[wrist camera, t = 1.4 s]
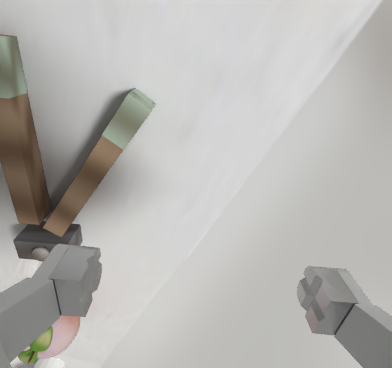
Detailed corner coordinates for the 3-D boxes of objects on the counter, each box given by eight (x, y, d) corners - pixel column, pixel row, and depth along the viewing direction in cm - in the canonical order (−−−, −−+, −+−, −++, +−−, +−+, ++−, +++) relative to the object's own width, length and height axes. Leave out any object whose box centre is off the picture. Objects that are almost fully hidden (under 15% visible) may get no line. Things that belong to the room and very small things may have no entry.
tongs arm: (72, 222, 34) (61, 237, 31) (54, 212, 33) (42, 227, 30) (155, 104, 26) (151, 111, 23) (135, 87, 25) (128, 93, 22)
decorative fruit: (80, 318, 45) (52, 384, 36) (33, 303, 43) (-8, 370, 34) (98, 288, 41) (71, 355, 32) (47, 271, 39) (5, 337, 30)
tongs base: (-17, 32, 23) (-62, 30, 19) (54, 41, 23) (25, 41, 19) (36, 236, 35) (16, 261, 31) (82, 240, 36) (68, 266, 32)
